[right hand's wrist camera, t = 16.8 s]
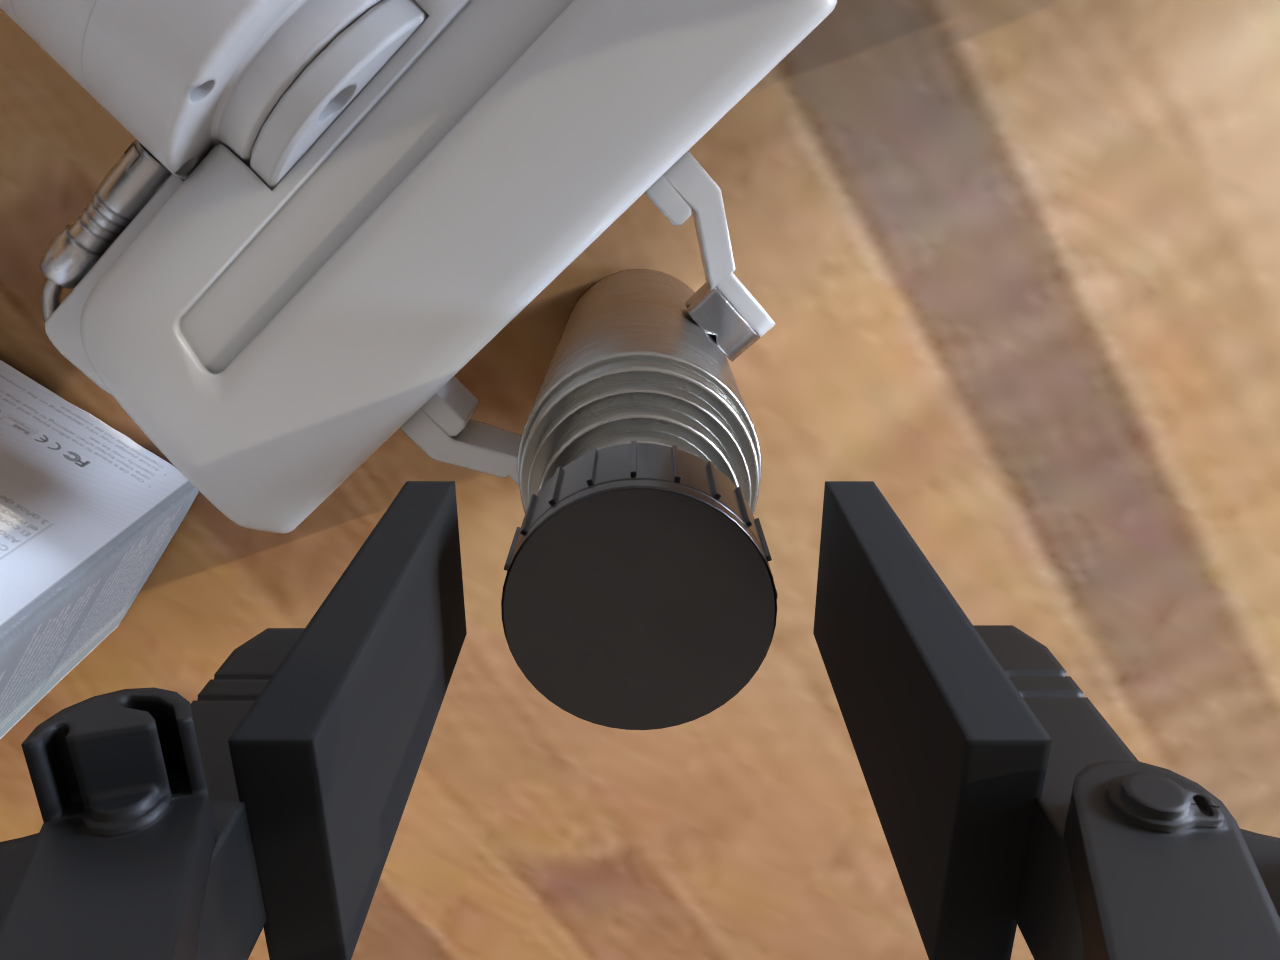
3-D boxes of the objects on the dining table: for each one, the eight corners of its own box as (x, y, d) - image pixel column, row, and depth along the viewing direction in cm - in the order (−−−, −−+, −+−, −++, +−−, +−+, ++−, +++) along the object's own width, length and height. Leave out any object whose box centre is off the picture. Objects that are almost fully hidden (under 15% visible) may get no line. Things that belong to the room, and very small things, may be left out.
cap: (465, 563, 15) (441, 622, 13) (632, 387, 14) (630, 424, 12) (645, 705, 16) (646, 778, 14) (813, 550, 15) (838, 608, 13)
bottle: (705, 257, 29) (793, 412, 12) (722, 406, 31) (820, 717, 14) (552, 281, 29) (436, 462, 13) (578, 426, 31) (506, 756, 14)
